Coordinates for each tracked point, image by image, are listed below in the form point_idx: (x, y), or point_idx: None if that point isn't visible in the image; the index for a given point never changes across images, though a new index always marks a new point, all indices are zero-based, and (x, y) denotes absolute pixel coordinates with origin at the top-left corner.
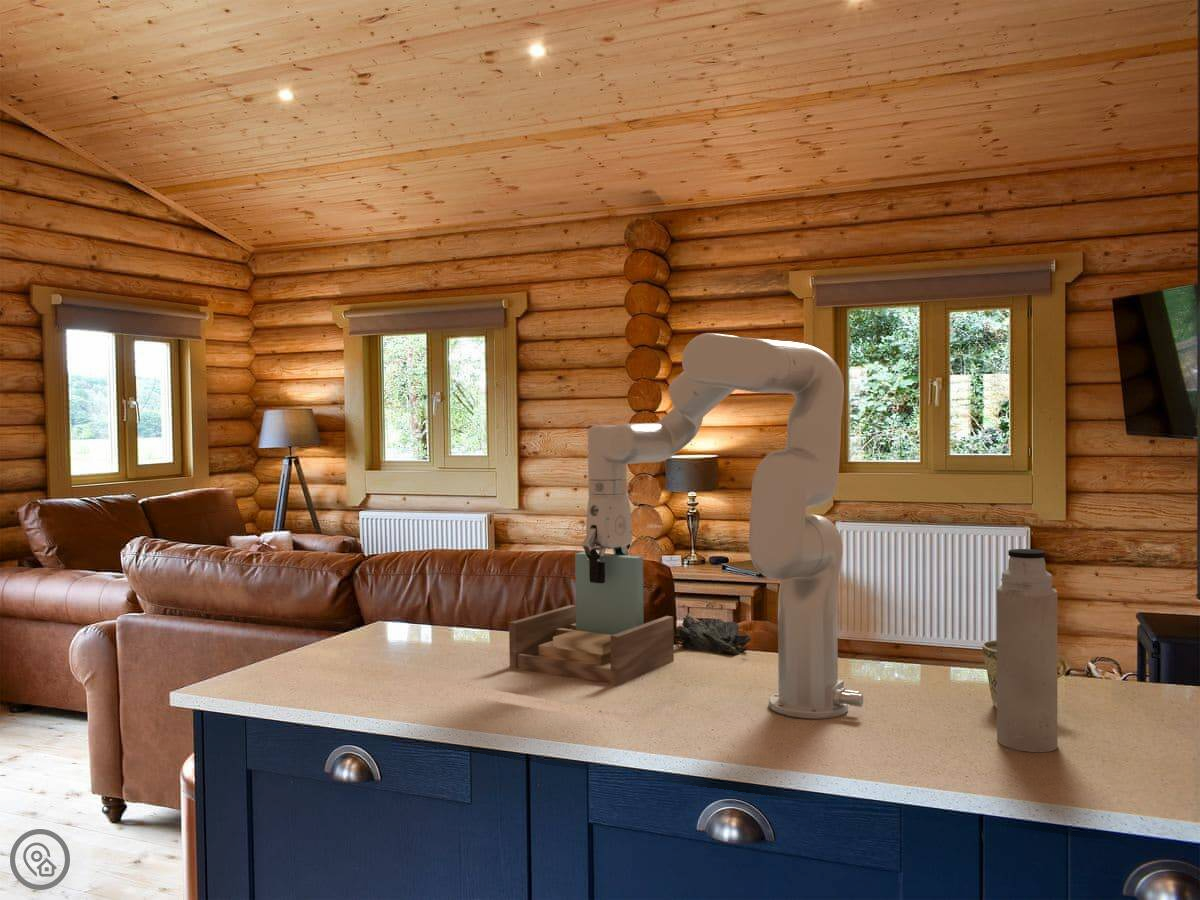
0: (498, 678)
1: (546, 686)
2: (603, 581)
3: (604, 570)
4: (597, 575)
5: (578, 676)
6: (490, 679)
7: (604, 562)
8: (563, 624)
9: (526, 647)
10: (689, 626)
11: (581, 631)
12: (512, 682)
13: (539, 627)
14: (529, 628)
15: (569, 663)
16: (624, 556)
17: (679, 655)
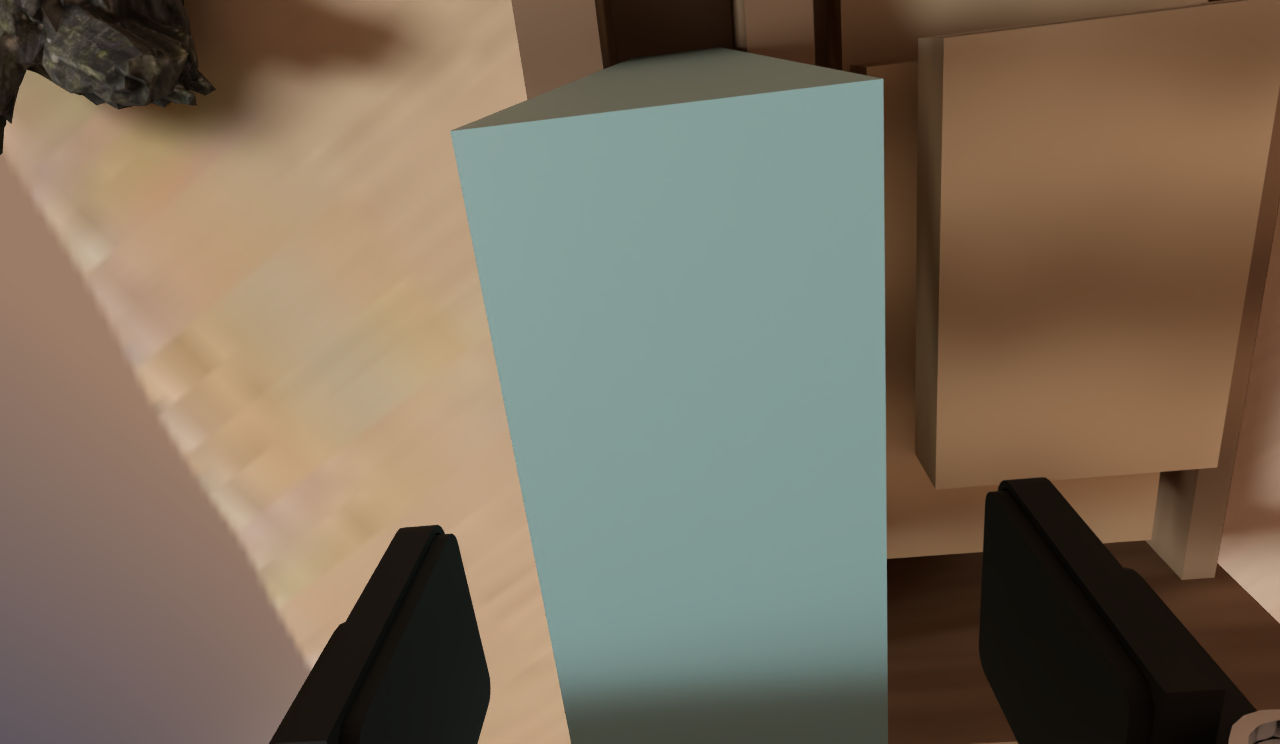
0: (1227, 552)
1: (1271, 268)
2: (1050, 482)
3: (1100, 580)
4: (1146, 594)
5: None
6: (1260, 568)
7: (1179, 688)
8: None
9: None
10: (5, 57)
11: (956, 420)
12: (1268, 456)
13: None
14: None
15: (1273, 207)
16: (740, 568)
17: (228, 79)
